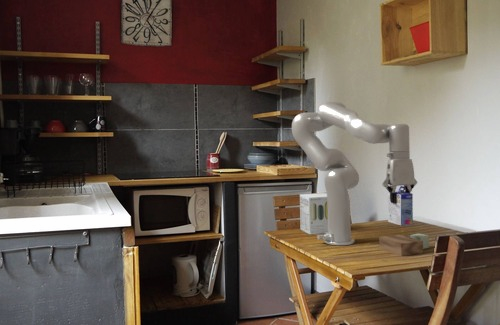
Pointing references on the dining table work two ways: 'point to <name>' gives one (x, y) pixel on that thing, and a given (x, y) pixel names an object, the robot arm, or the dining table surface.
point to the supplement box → (314, 213)
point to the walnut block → (401, 245)
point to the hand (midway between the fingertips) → (400, 201)
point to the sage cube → (422, 239)
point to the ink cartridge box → (401, 208)
